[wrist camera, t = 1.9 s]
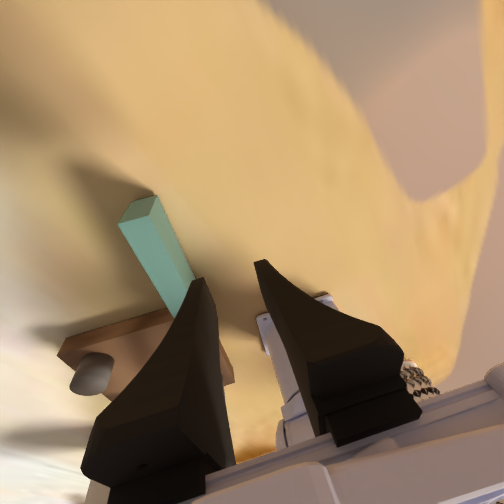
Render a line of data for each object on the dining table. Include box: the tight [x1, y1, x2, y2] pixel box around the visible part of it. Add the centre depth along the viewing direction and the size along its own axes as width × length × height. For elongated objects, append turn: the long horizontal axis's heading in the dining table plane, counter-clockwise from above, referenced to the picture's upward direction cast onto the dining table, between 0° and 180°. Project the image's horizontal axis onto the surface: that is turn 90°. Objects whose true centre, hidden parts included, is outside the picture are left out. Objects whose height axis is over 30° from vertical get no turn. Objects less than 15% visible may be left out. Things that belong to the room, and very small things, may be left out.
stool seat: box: [57, 308, 235, 401], centre depth 26 cm, size 14×14×4 cm
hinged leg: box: [117, 195, 195, 318], centre depth 19 cm, size 11×2×4 cm, turn 11°
